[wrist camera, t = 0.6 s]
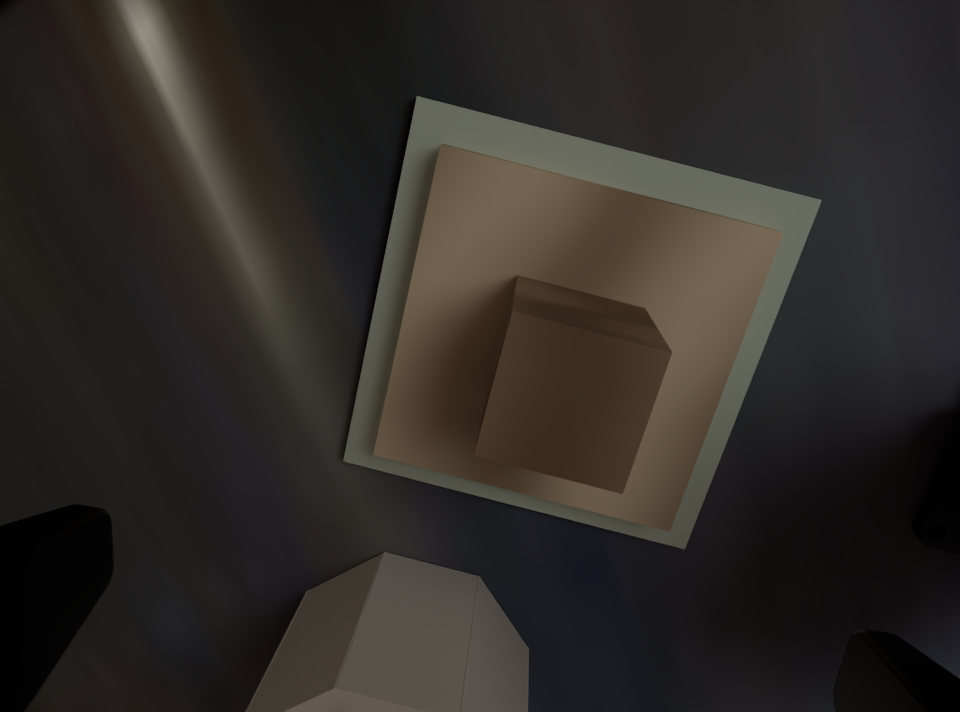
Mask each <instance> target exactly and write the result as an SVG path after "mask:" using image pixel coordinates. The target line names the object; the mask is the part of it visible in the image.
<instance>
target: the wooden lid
mask: <svg viewBox="0 0 960 712" xmlns="http://www.w3.org/2000/svg"><path fill="white" fill-rule="evenodd" d="M782 235H783V233H782V232H780V231H777V230H775V229H772V228H769V227H765V226H762V225H758V224H754V223H750V222H746V221H742V220H738V219H734V218H730V217H727V216H723V215H719V214H715V213H711V212H707V211H703V210H699V209H696V208H692V207H688V206H684V205H680V204H676V203H672V202H668V201H664V200H661V199H657V198H653V197H649V196H645V195H641V194H637V193H633V192H629V191H626V190H622V189H618V188H614V187H610V186H606V185H602V184H598V183H595V182H591V181H587V180H583V179H579V178H575V177H571V176H567V175H563V174H560V173H556V172H552V171H548V170H544V169H540V168H536V167H532V166H528V165H525V164H521V163H517V162H513V161H509V160H505V159H501V158H497V157H494V156H490V155H486V154H482V153H478V152H474V151H470V150H466V149H462V148H459V147H455V146H451V145H447V144H441V145H440V148H439V153H438V157H437V162H436V167H435V171H434V176H433V181H432V185H431V190H430V194H429V199H428V204H427V208H426V213H425V218H424V222H423V227H422V231H421V236H420V241H419V245H418V250H417V255H416V259H415V264H414V268H413V273H412V278H411V282H410V287H409V292H408V296H407V301H406V305H405V310H404V315H403V319H402V324H401V329H400V333H399V338H398V342H397V347H396V352H395V356H394V361H393V366H392V370H391V375H390V379H389V384H388V389H387V393H386V398H385V403H384V407H383V412H382V416H381V421H380V426H379V430H378V435H377V440H376V444H375V449H374V453H373V455H375V456H379V457H382V458H386V459H390V460H394V461H398V462H402V463H406V464H410V465H413V466H417V467H421V468H425V469H429V470H433V471H437V472H441V473H444V474H448V475H452V476H456V477H460V478H464V479H468V480H472V481H475V482H479V483H483V484H487V485H491V486H495V487H499V488H503V489H506V490H510V491H514V492H518V493H522V494H526V495H530V496H534V497H537V498H541V499H545V500H549V501H553V502H557V503H561V504H565V505H569V506H572V507H576V508H580V509H584V510H588V511H592V512H596V513H600V514H603V515H607V516H611V517H615V518H619V519H623V520H627V521H631V522H634V523H638V524H642V525H646V526H650V527H654V528H658V529H662V530H665V531H669V532H670V530H671V527H672V524H673V522H674V519H675V516H676V514H677V511H678V509H679V506H680V503H681V501H682V498H683V495H684V493H685V490H686V488H687V485H688V482H689V480H690V477H691V474H692V472H693V469H694V467H695V464H696V461H697V459H698V456H699V453H700V451H701V448H702V446H703V443H704V440H705V438H706V435H707V432H708V430H709V427H710V424H711V422H712V419H713V417H714V414H715V411H716V409H717V406H718V403H719V401H720V398H721V396H722V393H723V390H724V388H725V385H726V382H727V380H728V377H729V375H730V372H731V369H732V367H733V364H734V361H735V359H736V356H737V354H738V351H739V348H740V346H741V343H742V340H743V338H744V335H745V333H746V330H747V327H748V325H749V322H750V319H751V317H752V314H753V312H754V309H755V306H756V304H757V301H758V298H759V296H760V293H761V291H762V288H763V285H764V283H765V280H766V277H767V275H768V272H769V270H770V267H771V264H772V262H773V259H774V256H775V254H776V251H777V249H778V246H779V243H780V241H781V238H782Z"/></svg>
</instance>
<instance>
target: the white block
mask: <svg viewBox="0 0 960 712" xmlns="http://www.w3.org/2000/svg"><path fill="white" fill-rule="evenodd" d="M528 677H529V647H527V645H526V644H525V642H524V641H523V639H522V638H521V636H520V635H519V634H518V632H517V631H516V629H515V628H514V626H513V625H512V623H511V622H510V620H509V619H508V617H507V616H506V614H505V613H504V612H503V610H502V609H501V607H500V606H499V604H498V603H497V601H496V600H495V598H494V597H493V595H492V594H491V592H490V591H489V590H488V588H487V587H486V585H485V584H484V582H483V581H482V579H481V578H480V576H476V575H472V574H468V573H465V572H461V571H457V570H453V569H449V568H445V567H441V566H437V565H434V564H430V563H426V562H422V561H418V560H414V559H410V558H406V557H403V556H399V555H395V554H391V553H387V552H384V553H382V554H380V555H378V556H376V557H374V558H372V559H370V560H368V561H366V562H364V563H362V564H360V565H358V566H356V567H354V568H352V569H350V570H348V571H346V572H344V573H342V574H340V575H338V576H336V577H334V578H332V579H330V580H328V581H326V582H324V583H322V584H320V585H318V586H316V587H314V588H312V589H310V590H307V591H306V593H305V595H304V597H303V599H302V601H301V603H300V605H299V607H298V609H297V611H296V613H295V615H294V617H293V619H292V621H291V623H290V625H289V627H288V629H287V631H286V632H285V634H284V636H283V638H282V640H281V642H280V644H279V646H278V648H277V650H276V652H275V654H274V656H273V658H272V660H271V662H270V664H269V666H268V668H267V670H266V672H265V674H264V676H263V678H262V680H261V682H260V684H259V686H258V688H257V690H256V692H255V694H254V696H253V698H252V700H251V702H250V704H249V706H248V707H247V709H246V711H245V712H528Z"/></svg>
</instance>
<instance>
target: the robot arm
mask: <svg viewBox="0 0 960 712" xmlns="http://www.w3.org/2000/svg"><path fill="white" fill-rule="evenodd" d="M932 482H933V484H932V486H931V488H930V490H929V492H928V494H927V496H926V498H925V500H924V502H923V504H922V506H921V508H920V510H919V512H918V514H917V516H916V518H915V520H914V522H913V526H912V529H913V533H914V534H915V535H916V536H917V537H918V538H919V540H920V541H921V542H922V543H923V544H925V545H927V546H929V547H932V548H936V549H940V550H944V551H948V552H952V553H956V554H960V427H959V429H958V431H957V433H956V435H955V437H954V439H953V441H952V443H951V445H950V447H949V449H948V451H947V453H946V455H945V457H944V459H943V461H942V463H941V465H940V467H939V469H938V471H937V473H936V475H935V476H934V478H933V481H932ZM935 525H938V528H937V529H936V530H935V531H934V532H931V533H928V530H929V529H930V528H931V527H933V526H935ZM113 570H114V557H113V540H112V523H111V517H110V515H109V513H108V512H107V511H106V510H104V509H102V508H96V507H90V506H84V505H78V504H77V505H69V506H65V507H62V508H59V509H55V510H52V511H49V512H45V513H42V514H39V515H35V516H32V517H29V518H25V519H22V520H19V521H15V522H12V523H9V524H5V525H2V526H0V712H25V710H26V709H27V708H28V706H29V705H30V704H31V702H32V701H33V700H34V698H35V697H36V696H37V694H38V693H39V691H40V690H41V688H42V687H43V686H44V684H45V683H46V681H47V680H48V678H49V677H50V675H51V674H52V672H53V671H54V669H55V668H56V666H57V665H58V663H59V661H60V660H61V658H62V657H63V655H64V654H65V652H66V651H67V649H68V648H69V646H70V645H71V643H72V641H73V640H74V638H75V637H76V635H77V634H78V632H79V631H80V629H81V628H82V626H83V625H84V623H85V621H86V620H87V618H88V617H89V615H90V614H91V612H92V611H93V609H94V608H95V606H96V605H97V603H98V601H99V600H100V598H101V597H102V595H103V594H104V592H105V591H106V589H107V587H108V586H109V583H110V581H111V579H112V575H113ZM834 706H835V711H836V712H960V679H959V678H958V677H956V676H955V675H953V674H952V673H950V672H949V671H947V670H946V669H945V668H943V667H942V666H940V665H939V664H937V663H936V662H935V661H933V660H932V659H930V658H929V657H927V656H926V655H924V654H923V653H922V652H920V651H919V650H917V649H916V648H914V647H913V646H911V645H910V644H909V643H907V642H906V641H904V640H903V639H901V638H900V637H898V636H897V635H894V634H891V633H886V632H879V631H873V630H866V629H859V630H857V631H855V632H854V633H853V634H852V635H851V637H850V640H849V642H848V645H847V648H846V651H845V655H844V658H843V661H842V664H841V667H840V670H839V673H838V676H837V679H836V682H835V686H834Z"/></svg>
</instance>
